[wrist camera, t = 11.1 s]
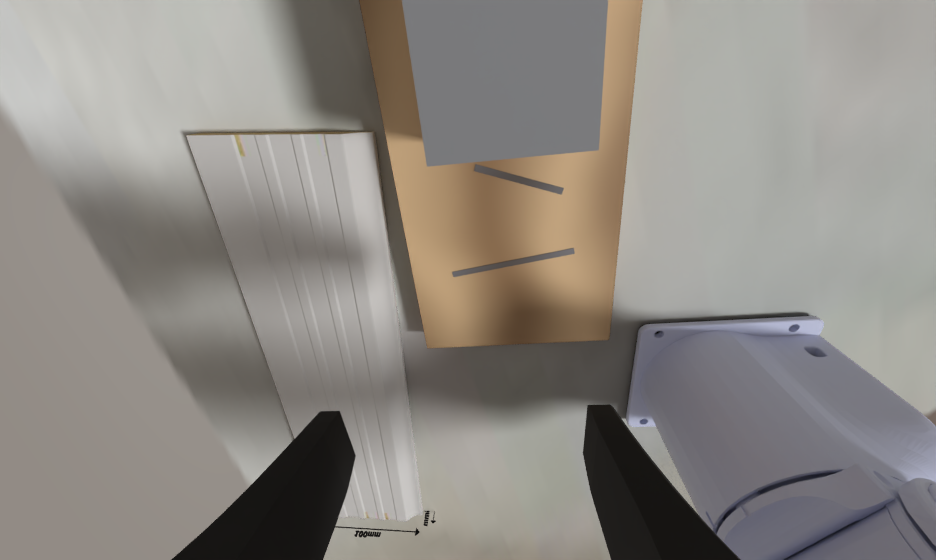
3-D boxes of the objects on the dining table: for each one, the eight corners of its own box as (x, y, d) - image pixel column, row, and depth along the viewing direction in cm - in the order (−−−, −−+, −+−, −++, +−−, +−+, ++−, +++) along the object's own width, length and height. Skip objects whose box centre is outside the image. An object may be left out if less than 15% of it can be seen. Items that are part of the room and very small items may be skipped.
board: (654, -293, 11) (677, -347, 9) (601, 324, 21) (609, 340, 20) (328, -225, 12) (306, -266, 10) (431, 332, 22) (427, 348, 21)
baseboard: (408, 129, 17) (206, 131, 18) (394, 137, 15) (159, 139, 15) (440, 505, 31) (328, 499, 32) (436, 542, 29) (314, 534, 29)
